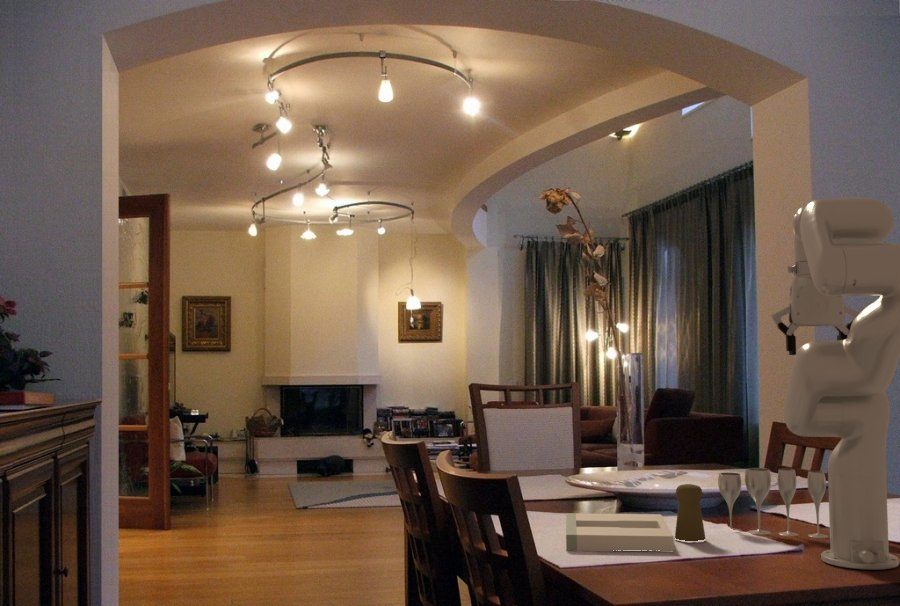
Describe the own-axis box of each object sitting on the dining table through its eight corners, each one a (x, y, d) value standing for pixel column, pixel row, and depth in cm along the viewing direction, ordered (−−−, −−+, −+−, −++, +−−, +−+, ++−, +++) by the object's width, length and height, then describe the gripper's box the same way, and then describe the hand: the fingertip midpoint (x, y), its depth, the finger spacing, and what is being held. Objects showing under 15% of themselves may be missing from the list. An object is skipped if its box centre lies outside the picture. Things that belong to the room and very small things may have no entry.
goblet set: (717, 532, 195) (716, 468, 195) (721, 527, 200) (719, 465, 201) (864, 542, 184) (862, 474, 184) (864, 536, 189) (862, 470, 190)
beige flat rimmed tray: (673, 552, 175) (673, 536, 175) (566, 550, 178) (566, 534, 178) (661, 528, 199) (660, 514, 199) (566, 527, 201) (566, 513, 202)
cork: (706, 543, 183) (705, 487, 184) (675, 542, 184) (673, 486, 185) (704, 537, 189) (703, 482, 190) (674, 536, 190) (672, 482, 191)
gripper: (774, 270, 189) (777, 355, 188) (864, 268, 187) (867, 354, 186) (766, 273, 197) (769, 355, 196) (852, 272, 195) (855, 354, 194)
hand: (816, 354), depth 191 cm, fingers open, 9 cm apart
